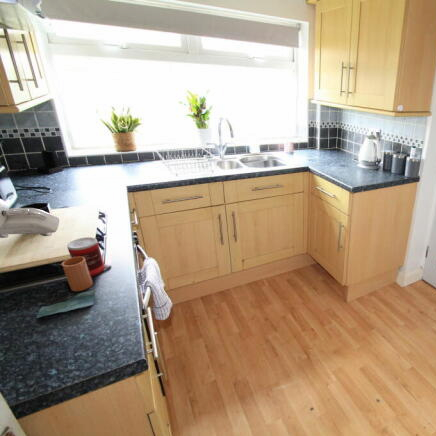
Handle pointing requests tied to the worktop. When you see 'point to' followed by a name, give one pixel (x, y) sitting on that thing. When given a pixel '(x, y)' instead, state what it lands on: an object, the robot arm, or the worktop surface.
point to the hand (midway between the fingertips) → (27, 233)
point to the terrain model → (69, 304)
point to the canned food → (88, 253)
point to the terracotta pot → (77, 273)
